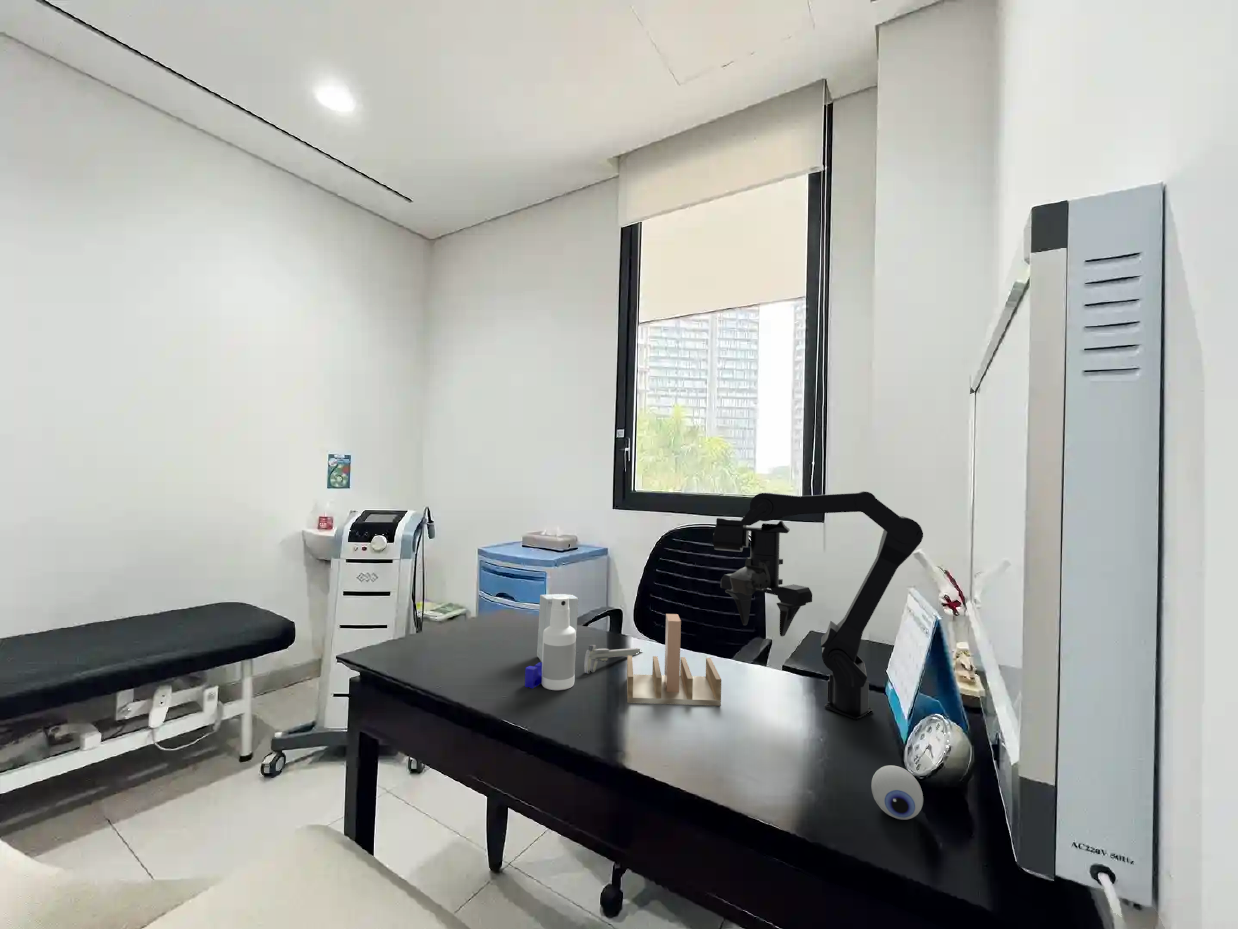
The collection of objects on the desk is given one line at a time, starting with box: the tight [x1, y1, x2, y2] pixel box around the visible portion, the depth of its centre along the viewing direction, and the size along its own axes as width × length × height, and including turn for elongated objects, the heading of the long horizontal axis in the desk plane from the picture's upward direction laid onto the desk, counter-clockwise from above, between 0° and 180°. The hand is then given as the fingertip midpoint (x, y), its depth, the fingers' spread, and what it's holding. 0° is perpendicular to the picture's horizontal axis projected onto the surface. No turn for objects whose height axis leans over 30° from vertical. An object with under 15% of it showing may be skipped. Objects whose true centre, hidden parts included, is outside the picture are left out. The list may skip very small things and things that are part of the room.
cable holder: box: [524, 661, 542, 689], centre depth 109 cm, size 8×4×4 cm, turn 156°
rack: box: [626, 655, 722, 707], centre depth 105 cm, size 18×12×5 cm, turn 90°
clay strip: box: [664, 613, 682, 692], centre depth 106 cm, size 2×6×14 cm, turn 0°
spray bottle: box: [541, 596, 577, 691], centre depth 108 cm, size 7×7×18 cm
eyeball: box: [870, 764, 924, 821], centre depth 68 cm, size 6×6×6 cm
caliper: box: [583, 644, 641, 675], centre depth 122 cm, size 20×1×6 cm, turn 141°
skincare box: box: [536, 593, 579, 662], centre depth 123 cm, size 8×6×15 cm
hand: (763, 630), depth 105 cm, fingers open, 9 cm apart
